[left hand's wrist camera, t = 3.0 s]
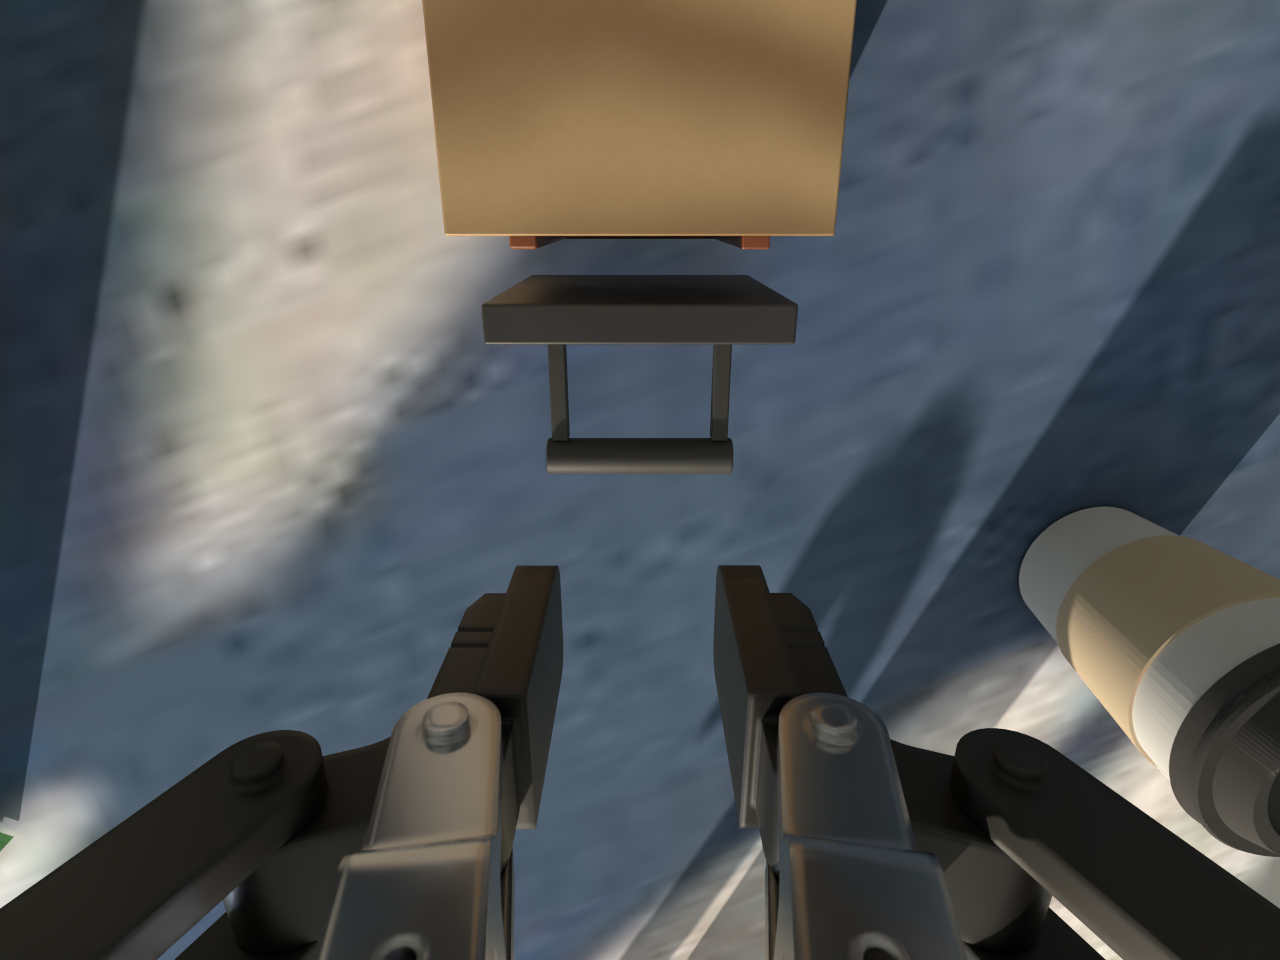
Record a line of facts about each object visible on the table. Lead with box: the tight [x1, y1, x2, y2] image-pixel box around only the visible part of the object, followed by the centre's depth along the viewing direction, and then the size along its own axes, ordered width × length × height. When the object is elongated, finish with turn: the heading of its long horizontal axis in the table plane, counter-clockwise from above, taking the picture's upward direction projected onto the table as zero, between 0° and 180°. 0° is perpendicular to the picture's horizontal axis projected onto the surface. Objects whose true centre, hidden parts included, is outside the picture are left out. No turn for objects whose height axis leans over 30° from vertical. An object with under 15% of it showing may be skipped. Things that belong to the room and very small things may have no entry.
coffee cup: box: [1019, 507, 1280, 857], centre depth 29 cm, size 9×9×15 cm
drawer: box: [482, 236, 798, 474], centre depth 23 cm, size 23×9×10 cm, turn 0°
